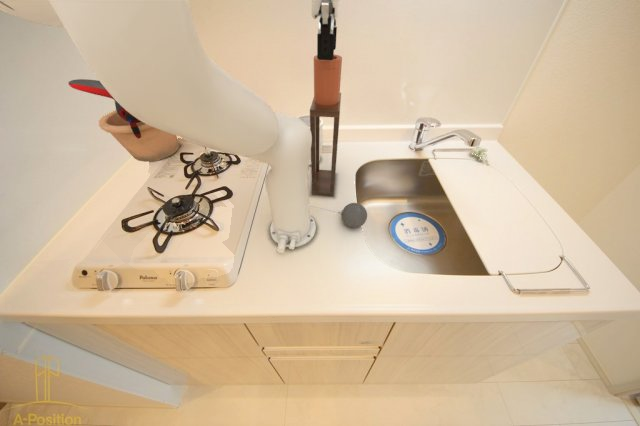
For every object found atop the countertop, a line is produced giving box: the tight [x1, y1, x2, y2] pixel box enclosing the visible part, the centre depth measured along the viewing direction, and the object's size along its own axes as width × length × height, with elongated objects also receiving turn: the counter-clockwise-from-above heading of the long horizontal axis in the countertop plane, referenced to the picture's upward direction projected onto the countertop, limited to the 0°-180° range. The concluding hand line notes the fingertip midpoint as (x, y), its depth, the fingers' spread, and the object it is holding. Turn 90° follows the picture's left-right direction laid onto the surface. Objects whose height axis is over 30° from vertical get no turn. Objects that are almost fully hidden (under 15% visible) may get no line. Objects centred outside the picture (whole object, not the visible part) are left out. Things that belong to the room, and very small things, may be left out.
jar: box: [296, 114, 324, 166], centre depth 79 cm, size 11×10×15 cm
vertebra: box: [470, 145, 489, 162], centre depth 83 cm, size 6×7×4 cm
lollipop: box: [311, 202, 368, 229], centre depth 62 cm, size 10×20×7 cm, turn 85°
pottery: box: [98, 109, 181, 163], centre depth 82 cm, size 22×22×14 cm
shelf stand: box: [309, 92, 342, 197], centre depth 64 cm, size 12×7×27 cm, turn 174°
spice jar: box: [313, 54, 343, 105], centre depth 51 cm, size 6×6×9 cm
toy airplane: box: [68, 78, 141, 139], centre depth 70 cm, size 28×24×15 cm
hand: (327, 54), depth 47 cm, fingers open, 9 cm apart
